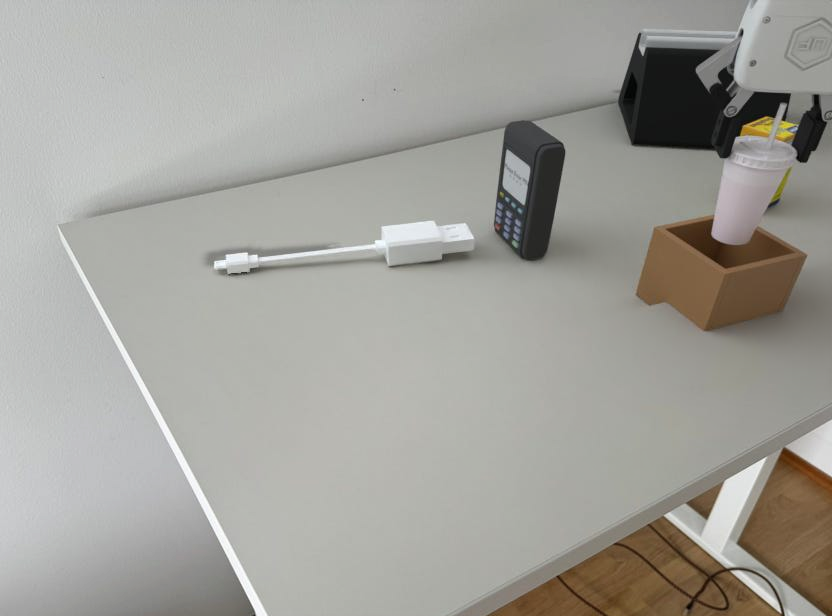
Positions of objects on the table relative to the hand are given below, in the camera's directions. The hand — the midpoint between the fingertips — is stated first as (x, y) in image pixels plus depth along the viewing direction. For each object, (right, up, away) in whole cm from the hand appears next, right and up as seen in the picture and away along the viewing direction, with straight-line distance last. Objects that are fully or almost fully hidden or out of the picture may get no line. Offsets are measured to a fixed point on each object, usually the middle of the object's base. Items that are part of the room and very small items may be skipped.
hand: (759, 153), depth 69 cm
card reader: (-18, -5, +24) cm, 30 cm away
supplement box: (+17, +2, +33) cm, 37 cm away
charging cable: (-40, -8, +21) cm, 46 cm away
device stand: (+20, +21, +56) cm, 63 cm away
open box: (0, -14, +11) cm, 18 cm away
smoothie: (0, -7, +6) cm, 9 cm away
